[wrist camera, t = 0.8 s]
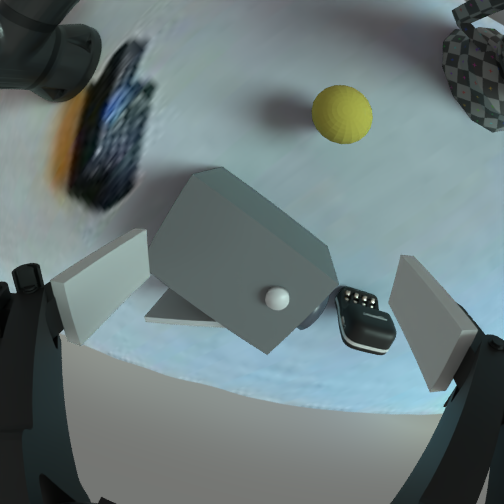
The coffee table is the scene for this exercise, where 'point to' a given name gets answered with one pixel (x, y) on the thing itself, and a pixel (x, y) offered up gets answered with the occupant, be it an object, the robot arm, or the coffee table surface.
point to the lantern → (477, 64)
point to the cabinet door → (178, 312)
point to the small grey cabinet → (242, 260)
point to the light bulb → (342, 114)
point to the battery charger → (363, 322)
